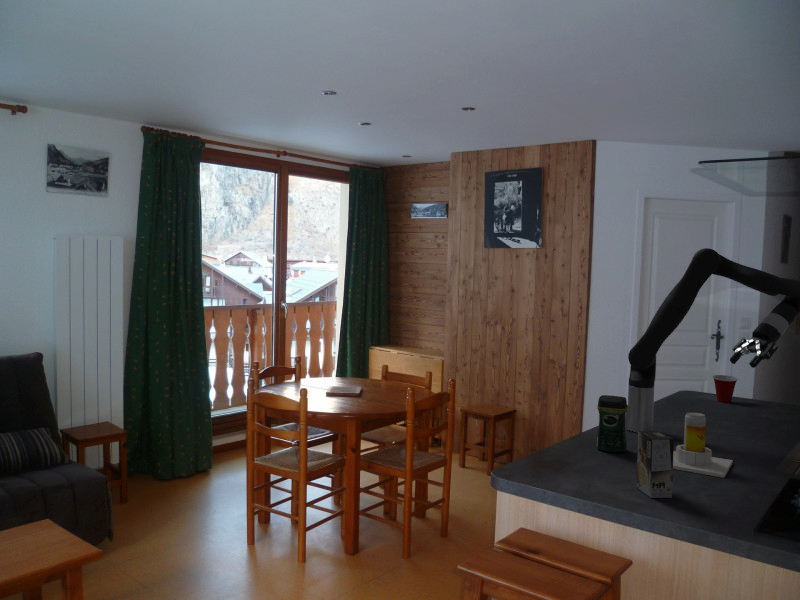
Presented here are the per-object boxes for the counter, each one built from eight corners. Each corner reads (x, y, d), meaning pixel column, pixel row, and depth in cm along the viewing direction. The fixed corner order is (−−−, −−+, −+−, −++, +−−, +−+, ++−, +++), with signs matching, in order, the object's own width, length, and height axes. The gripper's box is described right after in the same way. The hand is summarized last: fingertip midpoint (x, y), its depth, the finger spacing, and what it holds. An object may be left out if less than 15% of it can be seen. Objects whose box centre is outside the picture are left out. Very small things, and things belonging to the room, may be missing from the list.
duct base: (653, 465, 200) (654, 449, 200) (666, 452, 215) (666, 437, 215) (724, 477, 189) (724, 461, 189) (732, 463, 204) (733, 447, 204)
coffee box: (673, 498, 171) (675, 438, 171) (650, 498, 171) (652, 439, 170) (656, 486, 181) (658, 430, 180) (635, 487, 180) (636, 430, 179)
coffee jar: (628, 449, 219) (629, 395, 218) (624, 454, 212) (625, 399, 211) (599, 445, 224) (600, 392, 223) (594, 450, 217) (595, 396, 216)
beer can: (706, 464, 199) (708, 416, 198) (686, 463, 200) (687, 415, 199) (701, 458, 205) (703, 412, 204) (681, 457, 206) (682, 411, 205)
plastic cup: (715, 403, 300) (716, 378, 299) (708, 399, 310) (709, 374, 310) (740, 404, 298) (741, 379, 298) (732, 400, 309) (733, 375, 308)
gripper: (748, 320, 223) (719, 353, 220) (782, 323, 209) (751, 359, 207) (759, 335, 224) (731, 368, 222) (794, 339, 211) (764, 375, 208)
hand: (741, 364), depth 214 cm, fingers open, 8 cm apart
